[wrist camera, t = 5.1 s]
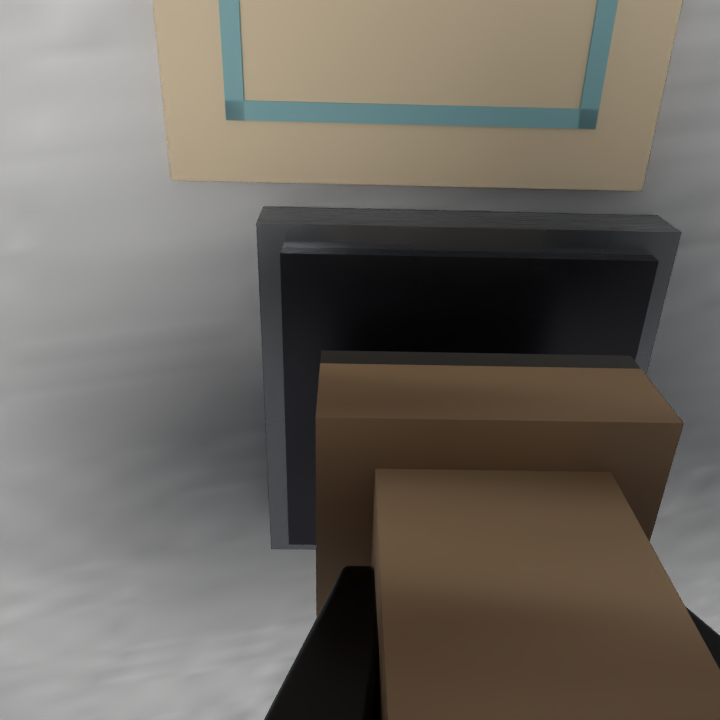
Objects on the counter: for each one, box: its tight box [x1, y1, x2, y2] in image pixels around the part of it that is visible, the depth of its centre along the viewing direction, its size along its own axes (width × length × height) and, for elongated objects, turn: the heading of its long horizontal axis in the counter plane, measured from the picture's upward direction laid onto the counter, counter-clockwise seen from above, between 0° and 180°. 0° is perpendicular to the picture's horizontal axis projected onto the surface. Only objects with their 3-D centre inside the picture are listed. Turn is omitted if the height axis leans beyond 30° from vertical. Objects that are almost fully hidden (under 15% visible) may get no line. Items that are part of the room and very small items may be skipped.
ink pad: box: [256, 207, 681, 549], centre depth 13 cm, size 7×7×1 cm
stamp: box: [316, 350, 720, 720], centre depth 8 cm, size 4×4×6 cm
